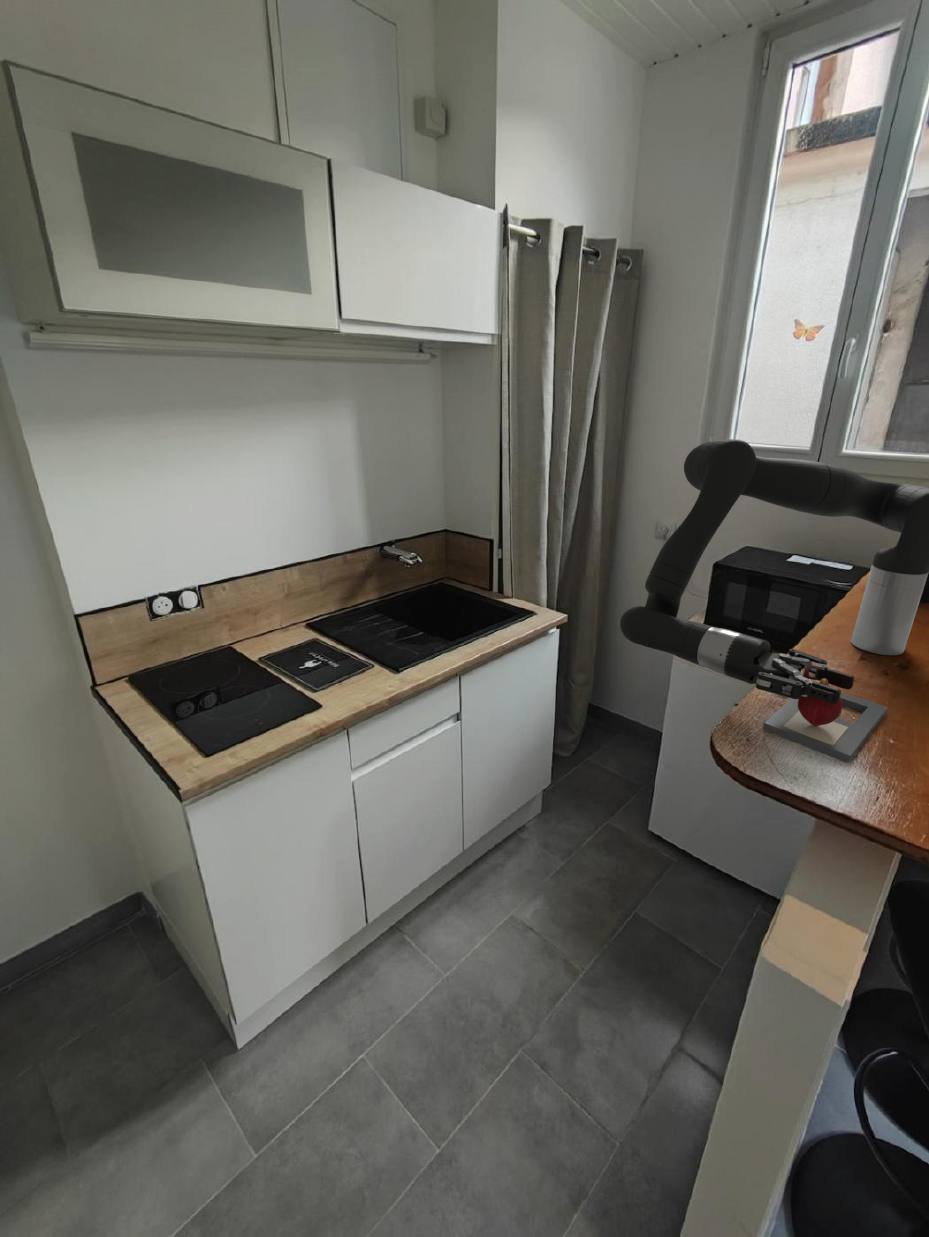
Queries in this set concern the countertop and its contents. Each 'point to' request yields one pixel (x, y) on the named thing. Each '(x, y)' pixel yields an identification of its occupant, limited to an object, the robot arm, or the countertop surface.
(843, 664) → the countertop surface
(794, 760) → the countertop surface
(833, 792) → the countertop surface
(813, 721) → the onion
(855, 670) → the countertop surface
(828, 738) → the tray
